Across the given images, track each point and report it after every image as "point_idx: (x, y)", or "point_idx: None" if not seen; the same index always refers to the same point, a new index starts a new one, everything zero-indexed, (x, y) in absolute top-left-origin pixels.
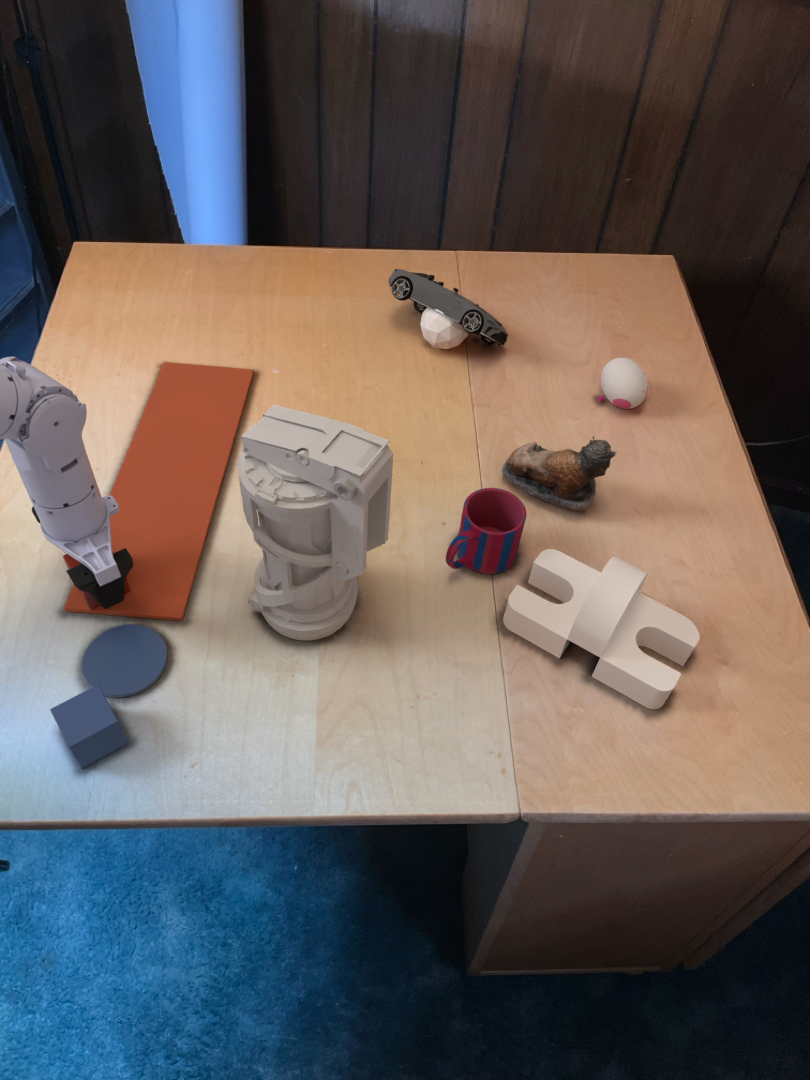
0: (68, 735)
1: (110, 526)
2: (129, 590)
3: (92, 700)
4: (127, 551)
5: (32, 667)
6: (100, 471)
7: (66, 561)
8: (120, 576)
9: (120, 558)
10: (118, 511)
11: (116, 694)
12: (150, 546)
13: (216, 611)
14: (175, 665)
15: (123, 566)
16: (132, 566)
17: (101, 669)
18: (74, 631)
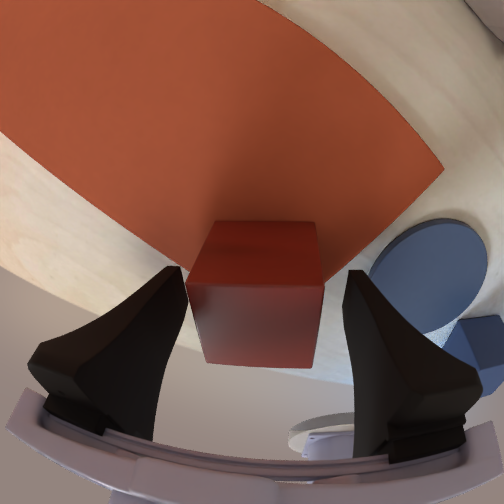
0: (485, 394)
1: (354, 499)
2: (315, 226)
3: (486, 376)
4: (443, 395)
5: (338, 365)
6: (6, 165)
7: (228, 364)
8: (492, 422)
9: (439, 409)
10: (271, 483)
11: (460, 313)
12: (203, 126)
13: (459, 96)
14: (488, 225)
15: (468, 405)
16: (477, 372)
17: (419, 317)
18: (322, 319)
